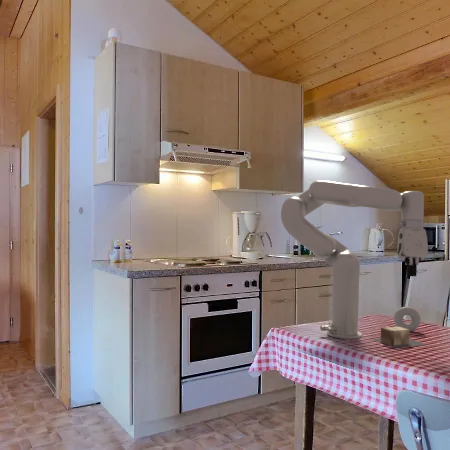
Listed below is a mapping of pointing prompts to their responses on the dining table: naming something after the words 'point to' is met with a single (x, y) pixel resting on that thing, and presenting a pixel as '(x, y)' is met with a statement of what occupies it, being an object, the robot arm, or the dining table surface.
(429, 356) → the dining table surface
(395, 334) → the tall block
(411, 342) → the mat
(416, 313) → the donut
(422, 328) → the dining table surface
